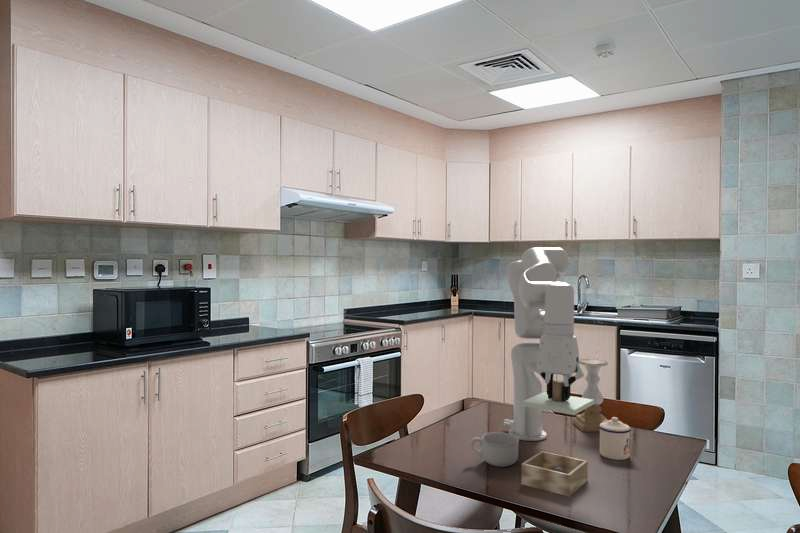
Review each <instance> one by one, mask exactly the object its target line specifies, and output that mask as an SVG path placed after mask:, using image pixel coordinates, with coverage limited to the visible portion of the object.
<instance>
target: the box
mask: <svg viewBox="0 0 800 533" xmlns="http://www.w3.org/2000/svg"><path fill="white" fill-rule="evenodd" d="M588 463H589V462H588V460H584V459H580V458H575V457H571V456H566V455H561V454H558V453H557V454H556V453H552V452H549V451H544V450H541V451H539V452H538V453H536V454H535V455H533V456H531V457H529V459H526V460H525V461H524V462H522V463H521V466H520V467H521V477H520V478H521V480H520V482H521V483H520V484H521V485H523V486H527V487H530V488H533V489H539V490H543V491H546V492H550V493H554V494H557V495H560V496H561V495H562V496H565V497H567V498H568V497H569V498H570V497H571V496H572V495H573V494H575V493H576V492H577V491H578V490H579V489H580V488H581V487H582V486H584V485H585V483H587V482H588V473H589V472H588V471H589V470H588ZM556 467H561V468H562V469H563V470H564V471H565V473H562V472H557V471H553V470H554V468H556Z"/></svg>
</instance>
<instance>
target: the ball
mask: <svg viewBox="0 0 800 533" xmlns="http://www.w3.org/2000/svg"><path fill="white" fill-rule="evenodd" d="M553 471H557V472H562V473H565V471H564V470H563V469H562V468H561V467H556V468H554V470H553Z"/></svg>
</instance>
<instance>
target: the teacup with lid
mask: <svg viewBox="0 0 800 533" xmlns="http://www.w3.org/2000/svg"><path fill="white" fill-rule="evenodd" d="M608 420H609V421H607V422H602V423H601V424H600V425H599V428H600V432H599V454H600V456H602V457H603V458H606V459H610V460H615V461H622V460H623V461H624V460H628V459H630V457H631V456H630V455H631V452H630V449H631V447H630V446H631V443H630V442H631V438H630V437H631V427H630V426H629V425H628V424H627V423H623V422H622V421H621V420H619V418H618V417H616V416H613V417H611V418H610V419H608Z"/></svg>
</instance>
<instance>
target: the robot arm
mask: <svg viewBox="0 0 800 533" xmlns="http://www.w3.org/2000/svg"><path fill="white" fill-rule="evenodd" d="M569 262H570V259H569V255H568V253H567V252H566V250H565V249H564V248H562V247H555V246H554V247H546V246H545V247H543V246H542V247H541V246H540V247H539V246H537V247H530V248H528V249H526V250H525V251H523V253H522V256H521V259H520V260H515V261H512V262H510V263H509V264H508V265H507V272H506V274H507V281H508V285H509V288H510V291H511V294H512V296H513V302H514V303H513V307H514V309H513V310H514V312H513V313H514V317H513V318H514V330H515V331H514V332H515V334H516V336H517V337H518V338H520V339H524V340H539V342H522V343H517V344H516V345H514V346H513V347H512V348H511V352H510V353H511V354H510V359H511V366H512V372H513V373H512V374H513V375H512V376H513V412H512V413H513V420H510V419H508V418H505V419H503V426H504V427H509V428H510V429H509V430H508V434H512V435H514V436H516V437H517V438H518V439H519V441H525V442H526V441H527V442H536V441H542V440H545V439H546V438H547V435H548V434H547V432H546V431H544V429H543V410H542V409H536V408H531V407H525V406H522V401H524V400H527V399H529V398H531V397H534V396H536V395H538V394H541V393H543V386H542V381H541V380H540V379H539V378H538V377H537V376H536V374H538V375H540V377H541V378H542V379H543V380H544V383H545V384H546V392H547V395H548V399H551V398H552V381H554V377H555V375H561V376H562V377H563V378H562V379H563V381H564V386H562V401H567V400H569V398H570V396H571V385H573V383H575V381H578V380H580V379H582V378H584V377H585V374H584V372H583V370H582V368H581V367H580V364H579V360H580V353H579V352H580V351H579V344H578V340H577V336H576V335H574V333H575V326H574V324H575V313H574V312H575V289H574V286H573V285H572V284H569V282H568V283H567V282H564V281H561V280H562V278H563V277H564V276H566V275H565V274H566V273H567V271H568V269H569V265H570V263H569ZM542 309H543V310H544V311H541V310H542ZM535 373H536V374H535ZM573 374H575V375H573Z"/></svg>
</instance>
